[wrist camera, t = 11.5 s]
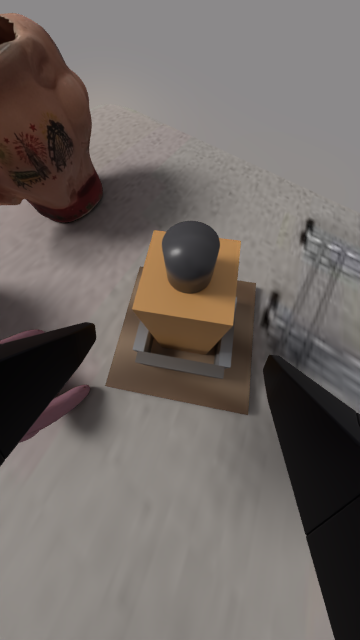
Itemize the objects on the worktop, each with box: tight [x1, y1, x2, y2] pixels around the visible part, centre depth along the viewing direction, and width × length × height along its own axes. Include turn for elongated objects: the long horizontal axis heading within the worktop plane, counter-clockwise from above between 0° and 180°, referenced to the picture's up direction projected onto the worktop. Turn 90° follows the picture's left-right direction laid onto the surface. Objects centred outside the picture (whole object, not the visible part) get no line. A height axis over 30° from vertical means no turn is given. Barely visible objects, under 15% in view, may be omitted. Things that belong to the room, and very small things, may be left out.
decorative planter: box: [0, 13, 103, 222], centre depth 20 cm, size 20×12×14 cm, turn 150°
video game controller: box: [0, 330, 90, 443], centre depth 16 cm, size 10×5×7 cm, turn 47°
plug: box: [132, 221, 241, 355], centre depth 13 cm, size 5×5×13 cm
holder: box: [105, 267, 256, 415], centre depth 18 cm, size 14×14×4 cm
